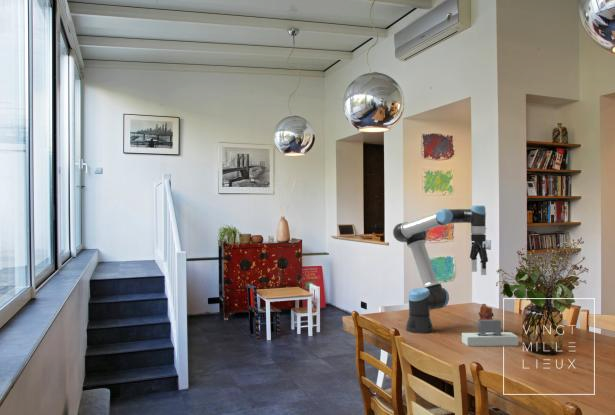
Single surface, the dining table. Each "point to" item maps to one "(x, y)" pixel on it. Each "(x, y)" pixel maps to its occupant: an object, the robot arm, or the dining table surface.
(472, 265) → the robot arm
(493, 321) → the grey block
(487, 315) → the mug
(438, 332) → the dining table surface
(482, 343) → the pale board with holes
